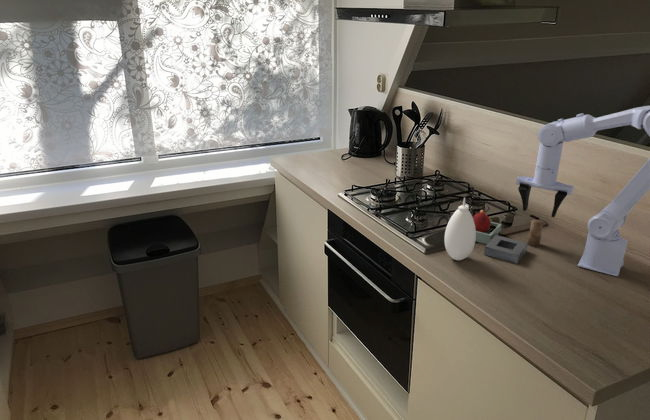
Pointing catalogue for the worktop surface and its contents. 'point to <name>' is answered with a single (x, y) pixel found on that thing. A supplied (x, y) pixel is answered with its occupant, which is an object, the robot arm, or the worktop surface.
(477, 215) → the onion
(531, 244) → the tan upright cylinder
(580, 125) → the robot arm
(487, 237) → the case
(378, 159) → the worktop surface
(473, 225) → the sauce bottle
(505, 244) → the gray square socket block
